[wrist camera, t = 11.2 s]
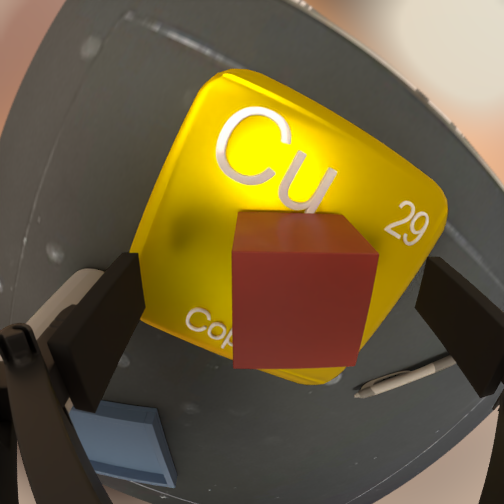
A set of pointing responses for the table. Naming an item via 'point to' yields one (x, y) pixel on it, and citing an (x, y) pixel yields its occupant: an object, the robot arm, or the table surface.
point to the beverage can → (63, 303)
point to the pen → (403, 378)
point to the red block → (299, 290)
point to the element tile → (272, 204)
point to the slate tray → (126, 443)
